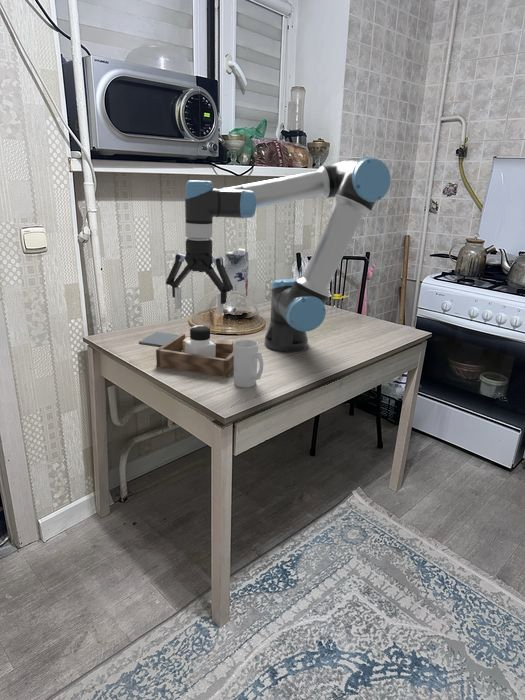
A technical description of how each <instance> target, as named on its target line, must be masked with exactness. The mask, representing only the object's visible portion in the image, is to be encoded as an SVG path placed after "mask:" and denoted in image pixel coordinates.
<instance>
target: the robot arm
mask: <svg viewBox="0 0 525 700" xmlns="http://www.w3.org/2000/svg"><path fill="white" fill-rule="evenodd" d="M391 177H392V175H391V174H390V169H389V167H388V166H387V165H386V163H385V162H384V161H383V160H381V159H378V158H375V157H369V156H366V157H365V156H364V157H362V158H348V159H344V160H342V161H339V162H336V163H332V164H328V165H324V166H319V168H318V170H316V171H315V170H313V171H310V172H304V173H299V174H294V175H293V174H292V175H288V176H283V177H282V176H281V177H278V178H271V179H267V180H261V181H256V182H250V183H244V184H240V185H233V186H229V187H228V186H223V187H220V188H214V183H213V181H211V180H198V179H197V180H194V179H193V180H192V179H189V180H187V182H185V189H184V191H185V192H184V194H185V195H184V196H185V197H184V207H185V208H184V209H185V211H184V212H185V216H184V217H185V237H186V239H185V254H183V253H182V252H180V253H176V254H175V258H174V259H175V260H174V263H173V266H172V268H171V269H170V272H169V274H168V276H167V279H166V281H165V284H166V285H169V286H171V289H172V291H171V293H172V298H174V309H175V310H177V311H178V310H180V309H182V307H183V306H182V302H183V301H182V286H180V284H181V283H182V282H183V280H185V278H186V277H187V276H188V274H190V273H191V271H192V272H198V273H205V274H206V275H207V276H208V277H209V279H210V280H211V282H213V284H214V285H215V287H216V288H217V289H218V291H219V292H217V316H221V315H223V314H224V304H225V303H226V298H227V292H229V291H231V290H233V286H232V284H231V282H230V279H229V277H228V275H227V272H226V270H225V264H224V258H223V257H222V256H220V257H213V240H212V238H213V219H214V218H237V219H248V218H249V219H250V218H251V219H252V218H253V217H254V216H255V214H256V211H257V209H259V208H264V207H269V206H275V205H279V204H285V203H290V202H291V203H292V202H297V201H302V200H307V199H312V198H317V197H318V198H319V197H322V198H323V199H328V198H329V199H330V198H335V201H336V205H335V207H334V209H333V211H332V212H331V215H330V218H329V219H328V221H327V224H326V226H325V228H324V230H323V233H322V234H321V236H320V237H319V240H318V243H317V245H316V246H315V249H314V251H313V254H312V255H311V257H310V260H309V261H308V264H307V265H306V268H305V270H304V271H303V274H302V276H301V277H299V278H295V279H294V278H283V279H282V278H279V279H276V280H273V281H272V283H271V284H272V285H271V302H270V322H269V326H268V328H267V331H266V333H265V336H264V346H265V347H267V348H268V349H271V350H274V351H279V352H287V353H289V352H291V353H292V352H299V351H300V352H301V351H303V350H305V349H307V348H308V345H309V339H308V334H307V332H310V331H311V332H312V331H314V330H316V329H318V328H319V327H320V326H321V325H322V324H323V323H324V320H325V318H326V315H327V310H326V303H327V301H328V299H329V296H330V294H329V292H328V291H329V290H328V288H329V285H330V284H331V283H332V280H333V278H334V276H335V273H336V271H337V269H338V268H339V266H340V264H341V261H342V259H343V257H344V255H345V253H346V251H347V250H348V247H349V245H350V243H351V241H352V239H353V236H354V234H355V233H356V230H357V229H358V226H360V223H361V221H362V218H363V217H364V216H365V215H368V214H369V213H371V212H372V210H373V207H374V206H375V204H376V202H378V201H380V200H382V199H383V198H384V197H385V196H386V195H387V193H388V192H389V189H390V186H391V182H392V178H391ZM184 261H185V262H186V264H187V265H186V266H185V267H184V268H183V270H182V271H181V272H180V274H179V275H178V273H179V271H180V268H181V267H182V264H183V262H184ZM212 264H214V266H215V267H216V269H217V272H218V274H219V276H220V277H219V276H218V274H217V273H216V271H215V268H214V267H213V266H212ZM177 275H178V276H177Z"/></svg>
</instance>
